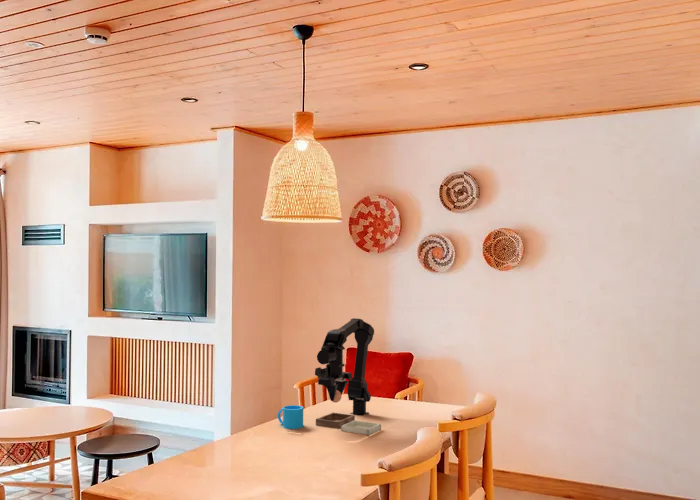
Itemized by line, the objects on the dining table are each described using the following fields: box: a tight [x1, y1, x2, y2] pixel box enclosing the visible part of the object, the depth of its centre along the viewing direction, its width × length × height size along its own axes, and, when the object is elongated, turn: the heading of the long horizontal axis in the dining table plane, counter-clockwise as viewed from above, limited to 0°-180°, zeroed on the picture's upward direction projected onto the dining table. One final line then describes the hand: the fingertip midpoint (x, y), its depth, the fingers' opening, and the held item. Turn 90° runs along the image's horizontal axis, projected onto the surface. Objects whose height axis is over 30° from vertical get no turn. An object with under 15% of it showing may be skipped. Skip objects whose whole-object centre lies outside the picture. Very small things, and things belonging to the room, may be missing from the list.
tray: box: [340, 419, 382, 437], centre depth 243 cm, size 11×12×2 cm
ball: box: [328, 390, 342, 403], centre depth 253 cm, size 5×5×5 cm
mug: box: [277, 404, 304, 430], centre depth 249 cm, size 12×8×8 cm
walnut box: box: [315, 412, 356, 429], centre depth 253 cm, size 14×11×3 cm
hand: (335, 399), depth 253 cm, fingers closed on ball, 5 cm apart
